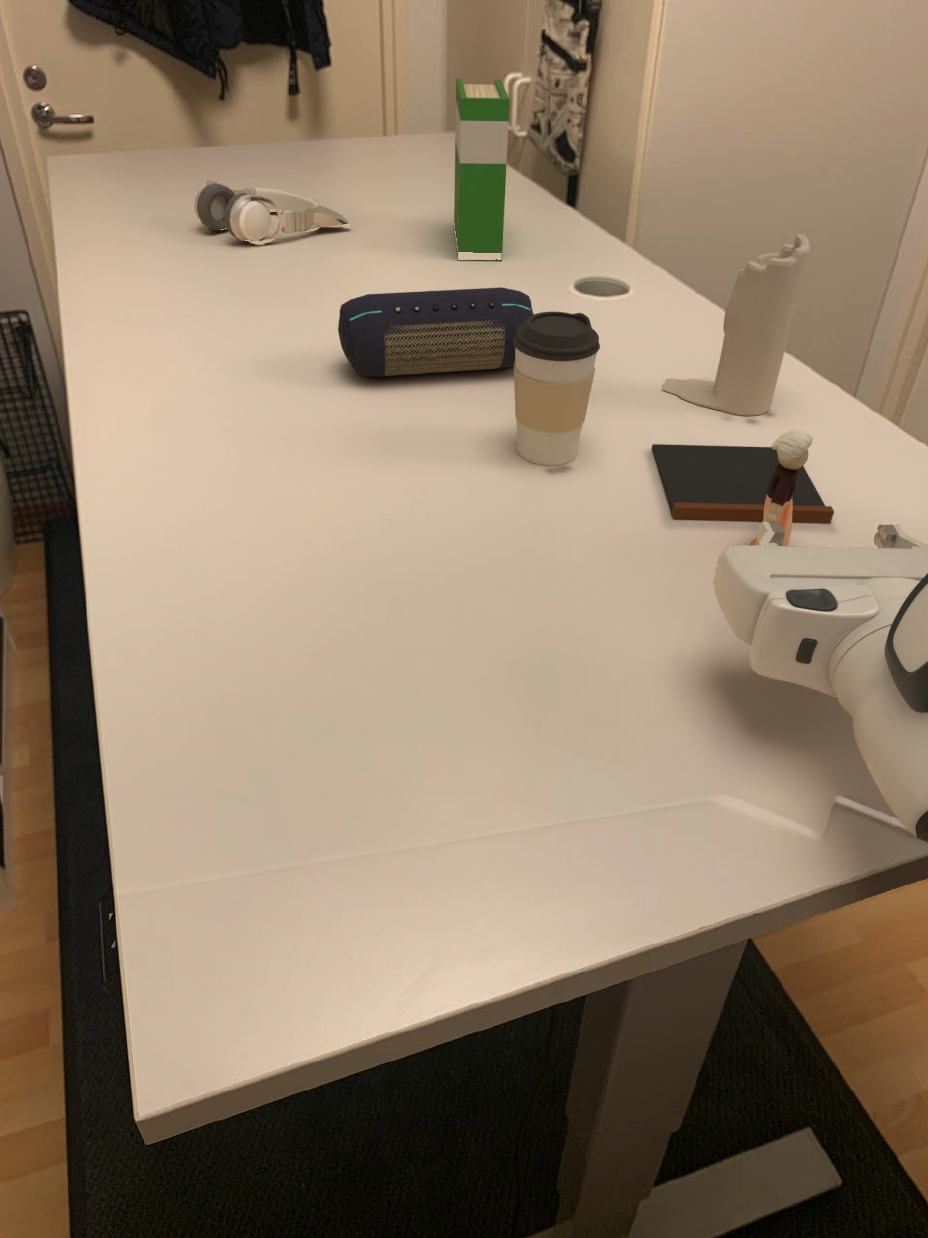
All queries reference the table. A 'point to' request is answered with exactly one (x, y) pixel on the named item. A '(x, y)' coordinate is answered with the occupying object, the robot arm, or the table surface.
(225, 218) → the headphones
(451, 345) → the portable speaker
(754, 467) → the chalkboard
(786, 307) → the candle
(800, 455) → the grandmother figurine
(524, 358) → the coffee cup
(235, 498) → the table surface
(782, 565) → the robot arm
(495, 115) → the hardback book
